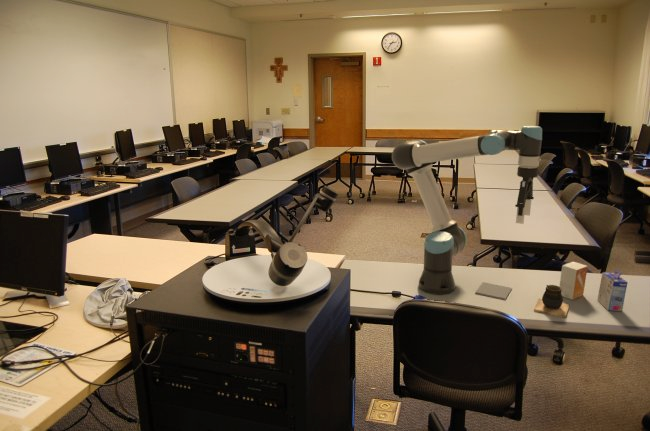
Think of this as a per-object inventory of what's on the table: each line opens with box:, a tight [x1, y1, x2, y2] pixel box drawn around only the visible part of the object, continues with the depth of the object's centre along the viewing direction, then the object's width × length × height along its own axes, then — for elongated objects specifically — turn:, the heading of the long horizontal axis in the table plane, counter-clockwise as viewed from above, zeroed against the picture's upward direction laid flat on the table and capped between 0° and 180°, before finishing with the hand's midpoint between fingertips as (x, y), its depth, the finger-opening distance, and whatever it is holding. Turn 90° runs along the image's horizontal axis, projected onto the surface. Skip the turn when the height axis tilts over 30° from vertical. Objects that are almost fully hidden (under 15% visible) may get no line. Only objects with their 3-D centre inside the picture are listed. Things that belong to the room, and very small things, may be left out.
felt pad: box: [475, 282, 512, 301], centre depth 201 cm, size 12×12×1 cm
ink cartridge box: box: [597, 269, 628, 312], centre depth 185 cm, size 10×6×14 cm, turn 174°
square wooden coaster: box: [533, 298, 570, 319], centre depth 186 cm, size 11×11×1 cm
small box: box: [558, 261, 588, 301], centre depth 195 cm, size 8×6×13 cm
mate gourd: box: [541, 284, 564, 309], centre depth 184 cm, size 7×8×10 cm
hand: (523, 219), depth 192 cm, fingers open, 13 cm apart
